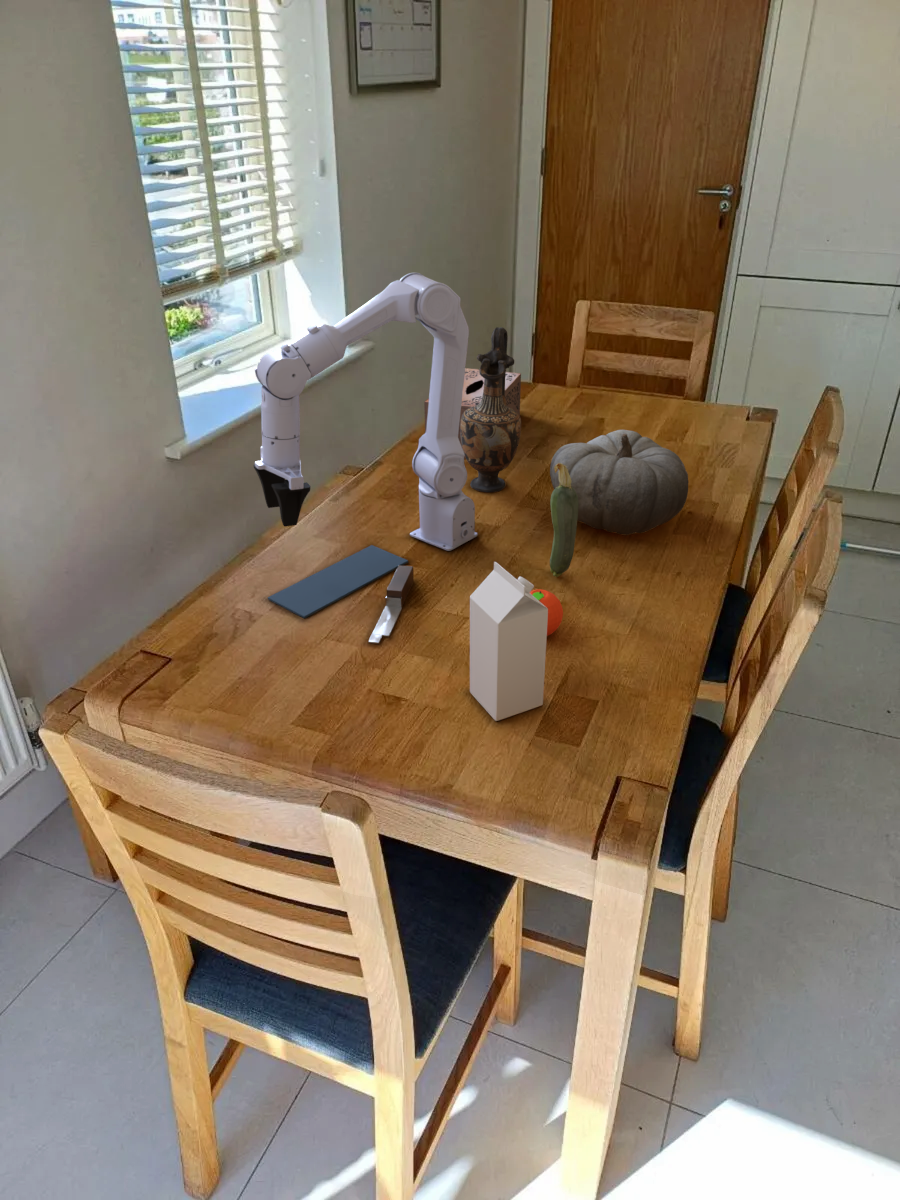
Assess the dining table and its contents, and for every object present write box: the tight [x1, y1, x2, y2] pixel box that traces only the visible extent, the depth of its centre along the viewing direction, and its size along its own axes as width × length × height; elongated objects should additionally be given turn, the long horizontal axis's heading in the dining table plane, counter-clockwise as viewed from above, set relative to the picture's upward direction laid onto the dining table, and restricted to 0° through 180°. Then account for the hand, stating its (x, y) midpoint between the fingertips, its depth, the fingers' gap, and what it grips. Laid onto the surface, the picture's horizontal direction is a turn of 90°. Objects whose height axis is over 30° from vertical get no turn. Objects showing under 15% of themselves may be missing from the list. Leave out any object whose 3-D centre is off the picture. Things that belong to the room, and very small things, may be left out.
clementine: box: [530, 588, 564, 637], centre depth 127 cm, size 8×7×7 cm
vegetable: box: [549, 463, 578, 578], centre depth 137 cm, size 4×4×20 cm
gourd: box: [549, 429, 689, 536], centre depth 157 cm, size 25×25×17 cm
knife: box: [367, 565, 415, 645], centre depth 134 cm, size 19×3×3 cm, turn 169°
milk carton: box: [469, 561, 548, 722], centre depth 111 cm, size 7×7×19 cm
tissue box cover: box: [423, 367, 522, 449], centre depth 199 cm, size 26×14×10 cm, turn 161°
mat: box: [267, 544, 409, 619], centre depth 143 cm, size 9×23×1 cm, turn 139°
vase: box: [460, 326, 522, 493], centre depth 167 cm, size 12×12×30 cm
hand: (281, 515), depth 140 cm, fingers open, 7 cm apart
